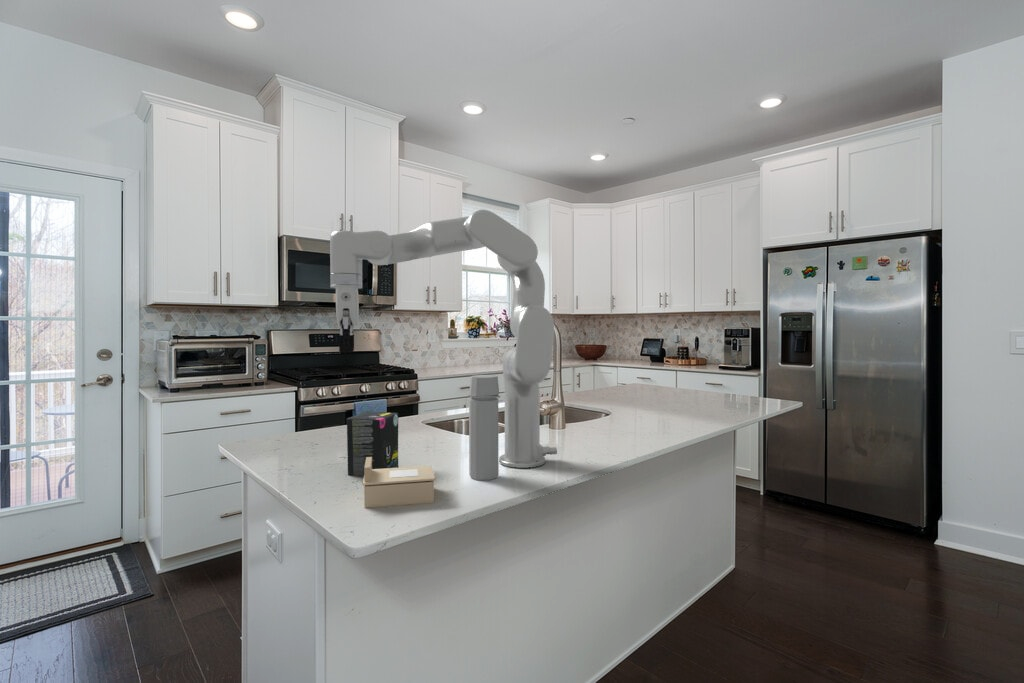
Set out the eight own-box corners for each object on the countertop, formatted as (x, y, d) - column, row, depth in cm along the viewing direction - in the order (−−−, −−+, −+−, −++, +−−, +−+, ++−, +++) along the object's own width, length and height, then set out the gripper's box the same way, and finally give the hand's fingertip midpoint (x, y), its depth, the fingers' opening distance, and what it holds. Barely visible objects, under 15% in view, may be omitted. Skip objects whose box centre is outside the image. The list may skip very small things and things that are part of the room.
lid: (431, 467, 117) (431, 452, 117) (435, 480, 107) (435, 464, 107) (365, 471, 114) (365, 456, 114) (362, 485, 104) (362, 468, 104)
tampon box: (381, 479, 125) (380, 419, 124) (346, 477, 126) (345, 418, 126) (399, 466, 135) (399, 411, 135) (367, 465, 137) (366, 410, 137)
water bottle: (489, 484, 120) (489, 378, 119) (462, 479, 124) (461, 376, 123) (509, 474, 128) (509, 375, 127) (482, 470, 132) (482, 373, 131)
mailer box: (430, 488, 117) (430, 468, 117) (433, 503, 108) (433, 481, 107) (366, 493, 114) (366, 472, 114) (364, 509, 104) (364, 486, 104)
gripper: (362, 279, 120) (362, 353, 120) (362, 285, 136) (362, 349, 137) (328, 278, 117) (328, 353, 118) (332, 284, 134) (333, 349, 135)
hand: (347, 351), depth 127 cm, fingers open, 9 cm apart
